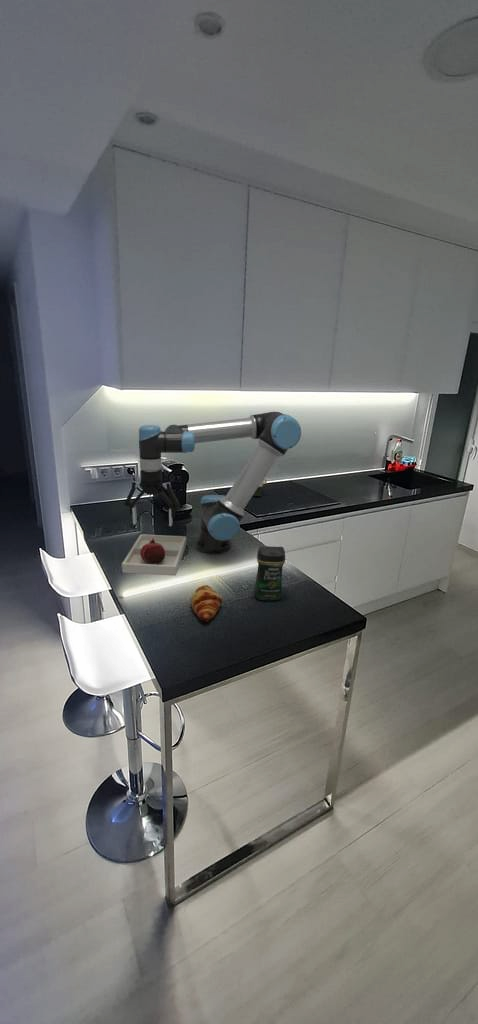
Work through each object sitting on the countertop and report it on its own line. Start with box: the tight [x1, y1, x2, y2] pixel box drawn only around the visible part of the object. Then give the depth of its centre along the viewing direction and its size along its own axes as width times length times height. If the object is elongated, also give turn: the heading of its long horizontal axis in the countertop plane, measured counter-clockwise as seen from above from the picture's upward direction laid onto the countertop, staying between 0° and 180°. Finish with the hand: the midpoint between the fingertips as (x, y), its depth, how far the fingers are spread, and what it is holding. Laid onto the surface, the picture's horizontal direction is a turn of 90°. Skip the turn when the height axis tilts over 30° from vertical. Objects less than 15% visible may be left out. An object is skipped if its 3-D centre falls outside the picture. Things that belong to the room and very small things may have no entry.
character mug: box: [252, 478, 268, 497], centre depth 255 cm, size 11×7×13 cm, turn 92°
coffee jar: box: [253, 545, 286, 602], centre depth 145 cm, size 10×8×19 cm
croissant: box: [190, 584, 223, 622], centre depth 139 cm, size 21×10×8 cm, turn 5°
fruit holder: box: [121, 533, 187, 576], centre depth 172 cm, size 20×29×4 cm
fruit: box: [140, 539, 165, 565], centre depth 164 cm, size 9×10×10 cm
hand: (153, 524), depth 160 cm, fingers open, 13 cm apart
